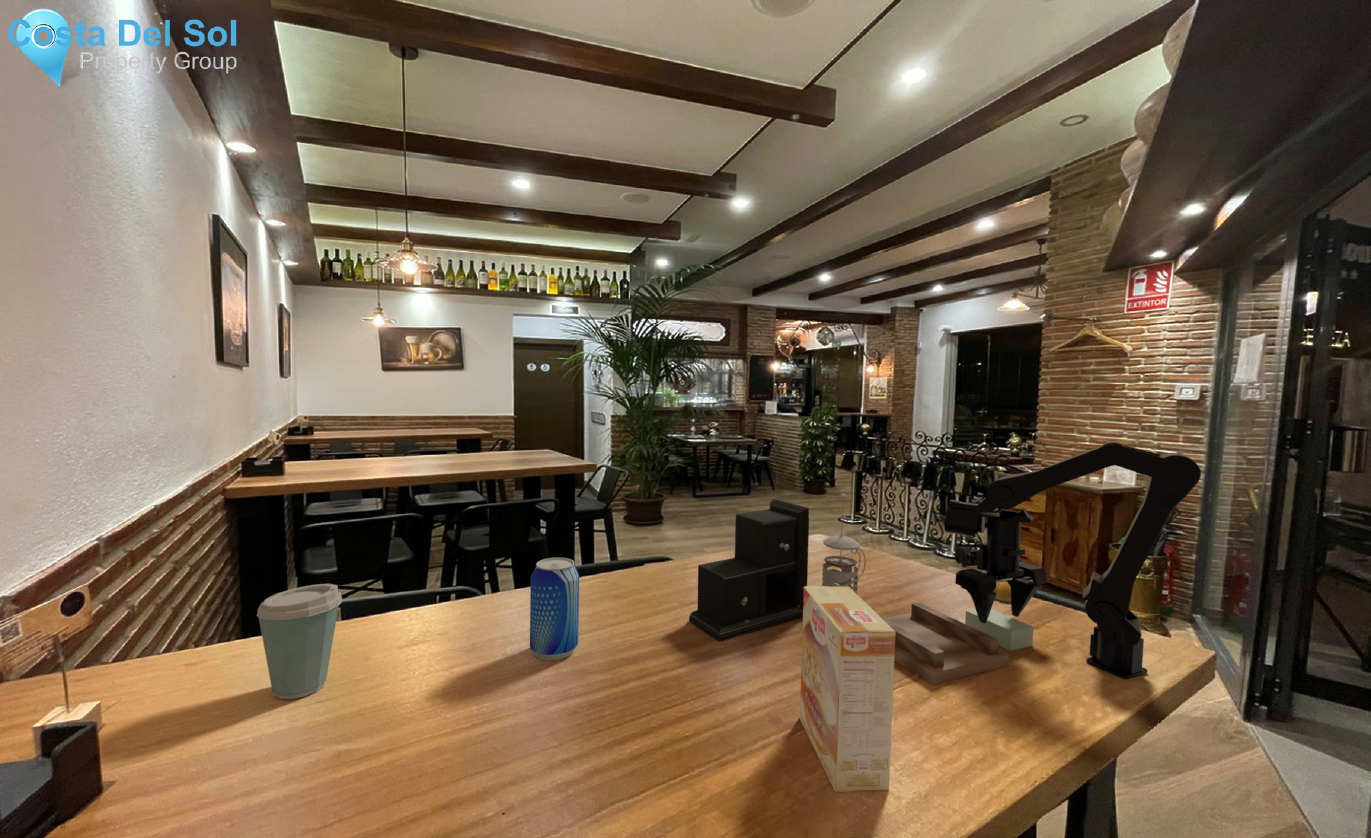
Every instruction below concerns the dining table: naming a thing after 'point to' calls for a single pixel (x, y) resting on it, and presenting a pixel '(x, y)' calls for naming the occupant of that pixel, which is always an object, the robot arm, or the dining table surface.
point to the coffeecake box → (847, 687)
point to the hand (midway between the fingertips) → (999, 619)
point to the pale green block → (1003, 629)
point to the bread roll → (1003, 591)
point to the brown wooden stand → (942, 646)
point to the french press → (841, 561)
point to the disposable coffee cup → (299, 637)
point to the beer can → (554, 609)
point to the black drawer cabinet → (756, 574)
